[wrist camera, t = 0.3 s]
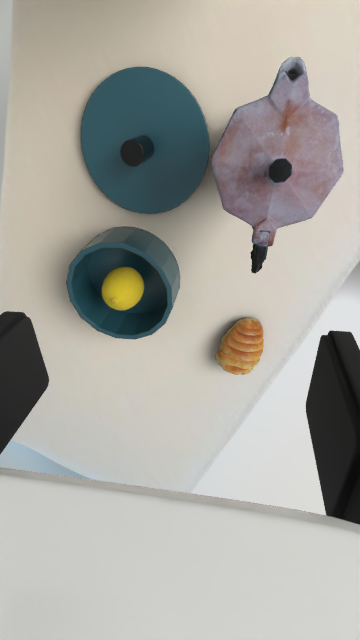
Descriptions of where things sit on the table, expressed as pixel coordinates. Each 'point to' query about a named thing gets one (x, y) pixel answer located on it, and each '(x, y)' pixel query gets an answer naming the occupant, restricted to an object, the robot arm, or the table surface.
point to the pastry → (241, 347)
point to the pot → (135, 253)
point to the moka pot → (278, 158)
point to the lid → (145, 140)
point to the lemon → (122, 288)
